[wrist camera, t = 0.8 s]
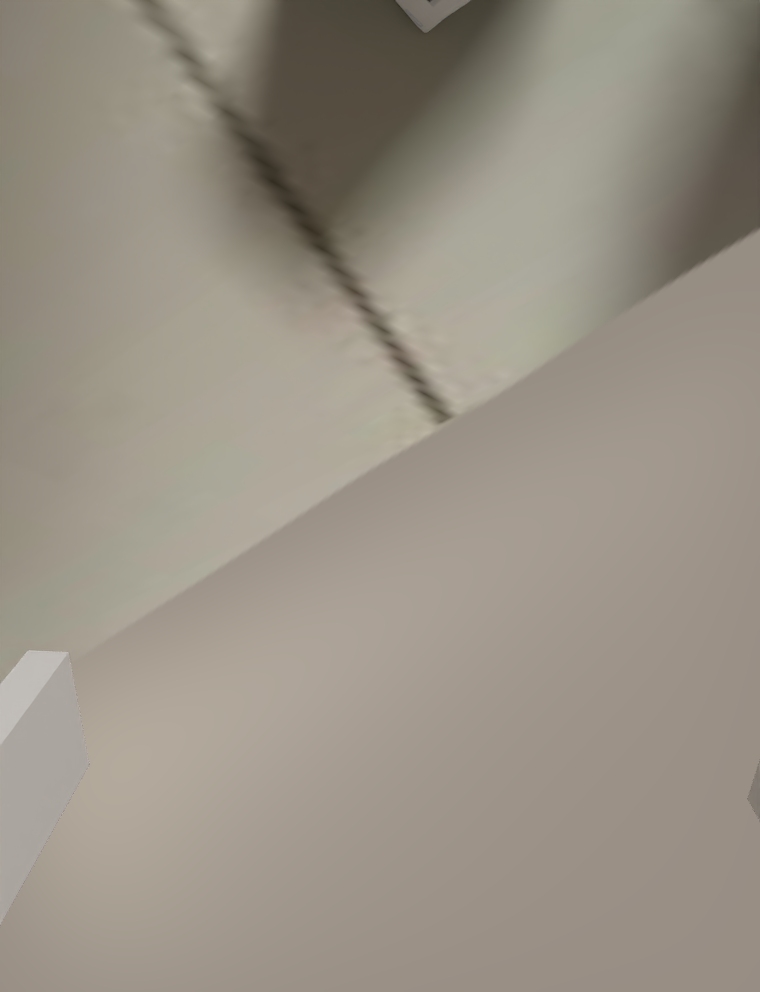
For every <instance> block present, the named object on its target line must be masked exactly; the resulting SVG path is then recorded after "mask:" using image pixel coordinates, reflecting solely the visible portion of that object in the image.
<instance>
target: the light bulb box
mask: <svg viewBox="0 0 760 992" xmlns="http://www.w3.org/2000/svg"><path fill="white" fill-rule="evenodd" d="M395 1H396V2H397V3H398V4H399V6H400V7H401V8H402V9H403V10H404V11H405V13H406V14H407V15H408V16H409V17H410V18H411V19H412V21H413V22H414V23H415V24H416V25H417V26H418V27H419V28H420V29H421V30H422V31H423V32H425V33H427V32H429V31H430V30H431V29H432V28H434V27H435V26H436V25H437V24H439V23H440V22H441V21H442V20H444V19H445V18H447V17H448V16H449V15H451V14H453V13H454V12H455V11H457V10H458V9H459V8H461V7H462V6H464V5H465V4H467V3H468V2H470V1H471V0H395Z"/></svg>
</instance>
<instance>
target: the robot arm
mask: <svg viewBox="0 0 760 992" xmlns="http://www.w3.org/2000/svg"><path fill="white" fill-rule="evenodd" d="M88 767H89V759H88V753H87V748H86V743H85V738H84V732H83V727H82V721H81V716H80V710H79V705H78V699H77V694H76V689H75V683H74V678H73V673H72V667H71V662H70V656H69V652H54V651H33V650H28V651H27V652H26V654H25V655H24V656H23V657H22V659H21V660H20V661H19V662H18V663H17V665H16V666H15V667H14V668H13V669H12V671H11V672H10V673H9V674H8V676H7V677H6V678H5V679H4V680H3V682H2V683H1V684H0V925H1V923H2V921H3V920H4V918H5V916H6V914H7V912H8V910H9V909H10V907H11V905H12V903H13V902H14V900H15V898H16V896H17V894H18V893H19V891H20V889H21V887H22V885H23V884H24V882H25V880H26V878H27V876H28V875H29V873H30V871H31V869H32V867H33V866H34V864H35V862H36V860H37V858H38V856H39V855H40V853H41V851H42V849H43V848H44V846H45V844H46V842H47V840H48V838H49V837H50V835H51V833H52V831H53V830H54V828H55V826H56V824H57V822H58V821H59V819H60V817H61V815H62V813H63V812H64V809H65V808H66V806H67V804H68V803H69V801H70V799H71V797H72V795H73V794H74V792H75V790H76V788H77V786H78V784H79V783H80V781H81V779H82V777H83V775H84V774H85V772H86V770H87V768H88ZM747 799H748V801H749V802H750V804H751V806H752V808H753V809H754V812H755V814H756V815H757V817H758V819H759V821H760V761H759V764H758V767H757V770H756V773H755V776H754V779H753V783H752V786H751V789H750V792H749V795H748V798H747Z"/></svg>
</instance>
